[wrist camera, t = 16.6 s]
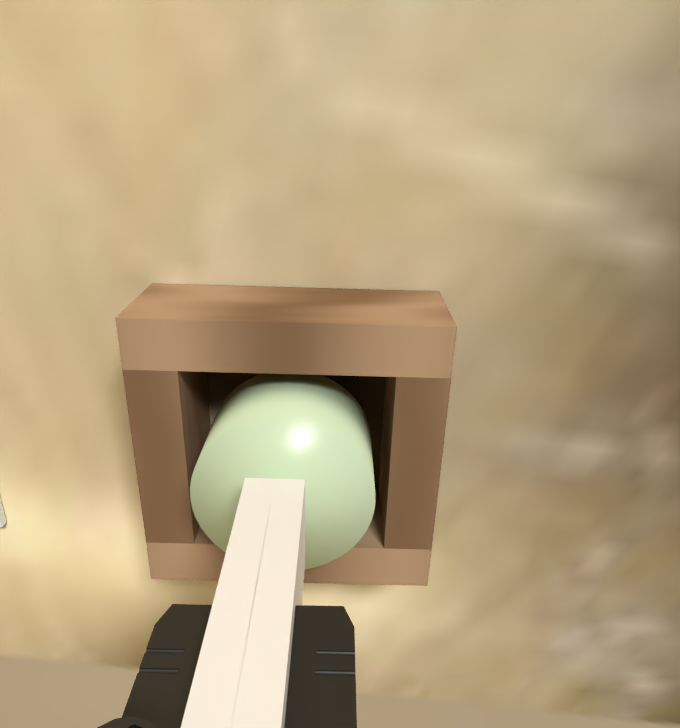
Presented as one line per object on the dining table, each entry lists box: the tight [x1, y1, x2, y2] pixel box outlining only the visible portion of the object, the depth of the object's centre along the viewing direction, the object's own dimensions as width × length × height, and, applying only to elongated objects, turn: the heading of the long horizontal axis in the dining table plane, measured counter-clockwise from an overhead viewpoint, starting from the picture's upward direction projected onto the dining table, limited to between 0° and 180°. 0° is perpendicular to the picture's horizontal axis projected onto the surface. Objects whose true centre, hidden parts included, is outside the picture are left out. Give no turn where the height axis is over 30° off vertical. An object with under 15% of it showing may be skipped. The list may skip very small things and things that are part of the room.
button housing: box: [116, 284, 457, 586], centre depth 19 cm, size 9×9×3 cm
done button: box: [190, 373, 375, 569], centre depth 17 cm, size 5×5×3 cm
